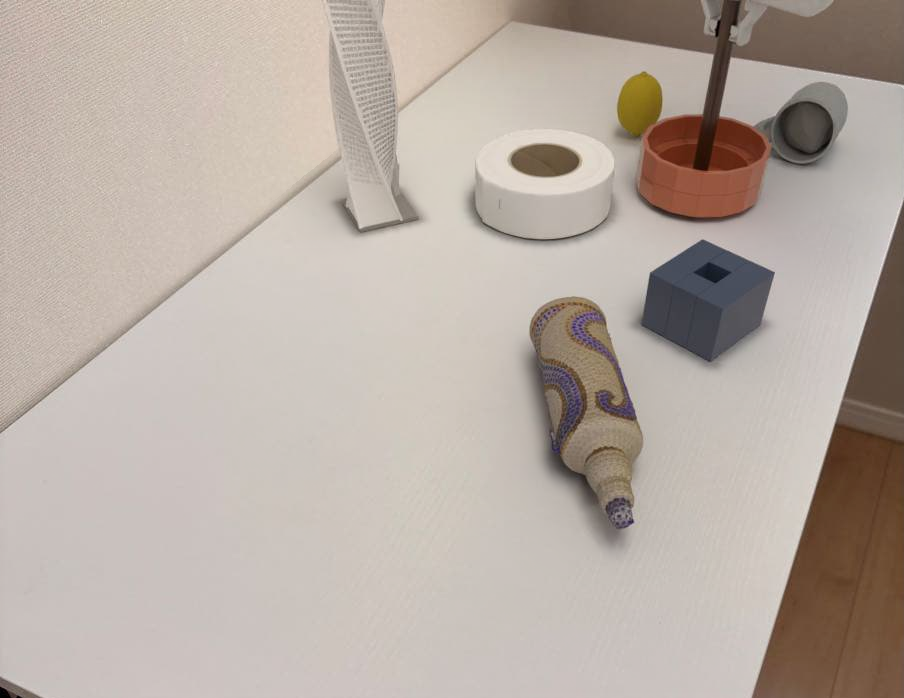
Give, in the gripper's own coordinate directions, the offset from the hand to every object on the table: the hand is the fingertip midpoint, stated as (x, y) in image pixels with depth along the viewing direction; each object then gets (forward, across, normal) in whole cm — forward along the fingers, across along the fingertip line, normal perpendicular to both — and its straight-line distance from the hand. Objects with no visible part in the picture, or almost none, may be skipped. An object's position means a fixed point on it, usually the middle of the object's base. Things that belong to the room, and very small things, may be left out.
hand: (725, 38), depth 98 cm
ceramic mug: (+17, -2, -17) cm, 24 cm away
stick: (+16, 0, 0) cm, 16 cm away
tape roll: (+17, +11, +15) cm, 25 cm away
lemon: (+17, +14, -6) cm, 23 cm away
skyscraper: (+17, +23, +30) cm, 42 cm away
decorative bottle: (+17, -18, +42) cm, 49 cm away
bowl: (+17, 0, 0) cm, 17 cm away
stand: (+17, -16, +21) cm, 31 cm away
